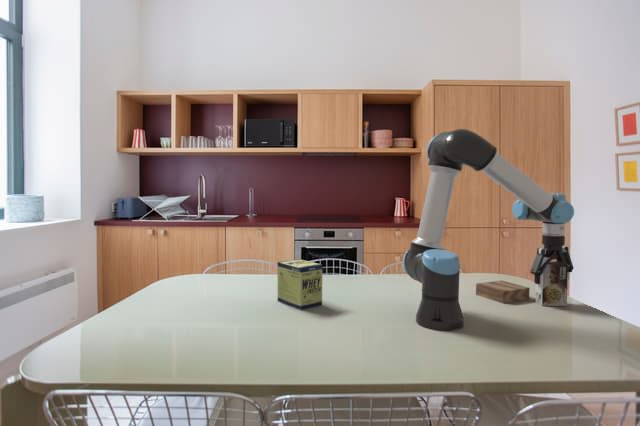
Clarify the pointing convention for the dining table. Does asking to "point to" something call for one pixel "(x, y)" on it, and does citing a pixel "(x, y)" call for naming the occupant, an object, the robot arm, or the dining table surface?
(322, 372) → the dining table surface
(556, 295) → the coffee box
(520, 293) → the walnut riser block
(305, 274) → the protein box
